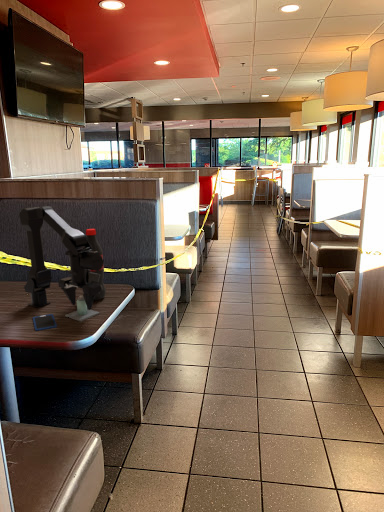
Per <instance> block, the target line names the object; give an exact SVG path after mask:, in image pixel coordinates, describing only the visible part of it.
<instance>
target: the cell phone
mask: <svg viewBox="0 0 384 512" xmlns="http://www.w3.org/2000/svg"><path fill="white" fill-rule="evenodd" d="M55 319H56V318H55V316H54V314H53V313H50V314H42V315H37V316H32V322H33V327H34V331H35V332H39V331H47V330H51V329H55V328H57V327H58V325H57V322H56V320H55Z"/></svg>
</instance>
